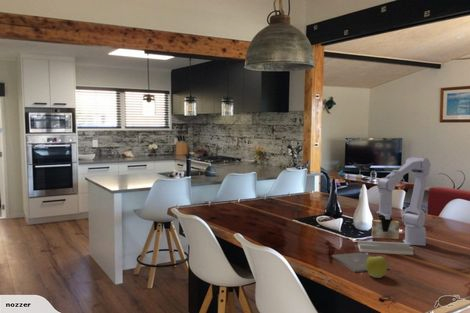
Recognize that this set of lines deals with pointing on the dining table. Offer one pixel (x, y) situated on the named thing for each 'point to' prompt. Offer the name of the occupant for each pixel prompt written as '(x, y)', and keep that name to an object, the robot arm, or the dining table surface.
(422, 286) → the dining table surface
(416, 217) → the robot arm
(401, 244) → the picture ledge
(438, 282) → the dining table surface
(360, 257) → the play button award
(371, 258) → the apple
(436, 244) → the dining table surface
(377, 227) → the oak frame
